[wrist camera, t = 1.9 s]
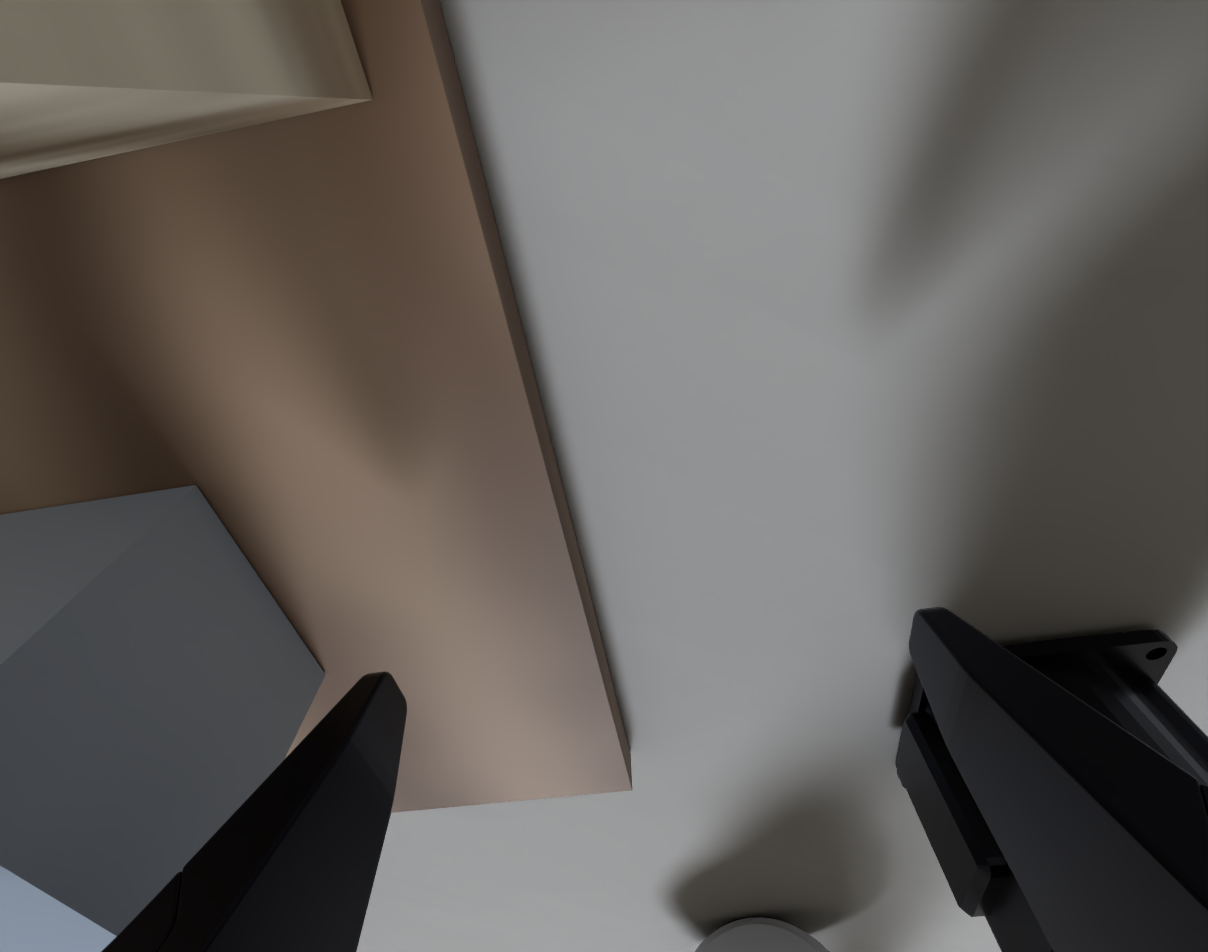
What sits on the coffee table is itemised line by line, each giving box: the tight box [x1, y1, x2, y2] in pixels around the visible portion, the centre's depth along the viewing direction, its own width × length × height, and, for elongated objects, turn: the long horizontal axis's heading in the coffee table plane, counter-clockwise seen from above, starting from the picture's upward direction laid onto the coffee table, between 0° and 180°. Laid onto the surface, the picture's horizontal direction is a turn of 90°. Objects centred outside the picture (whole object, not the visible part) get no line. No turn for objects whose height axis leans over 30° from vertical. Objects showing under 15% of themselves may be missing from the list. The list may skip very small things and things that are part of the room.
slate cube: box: [0, 485, 326, 952], centre depth 11 cm, size 6×6×6 cm
